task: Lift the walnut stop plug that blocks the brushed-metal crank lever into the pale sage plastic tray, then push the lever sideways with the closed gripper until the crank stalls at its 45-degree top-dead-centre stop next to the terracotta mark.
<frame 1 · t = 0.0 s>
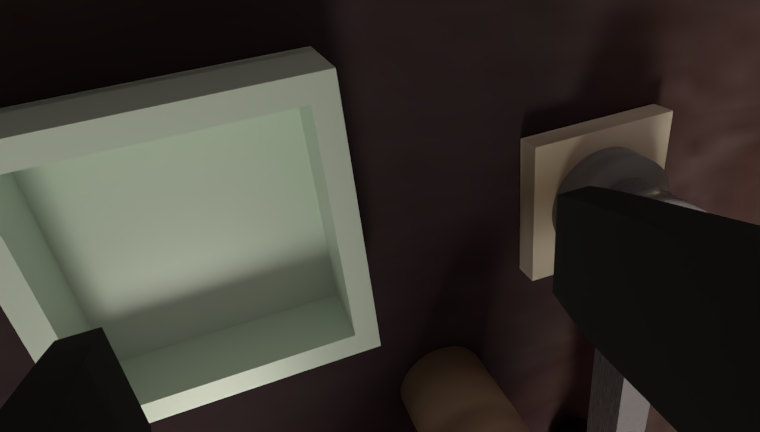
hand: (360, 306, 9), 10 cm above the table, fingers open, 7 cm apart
stop plug: (441, 381, 25), on the table
crank lever: (613, 367, 24), point 3 cm above the table, hinge at 0.0°
tray: (194, 223, 18), on the table
crank mount: (584, 189, 23), on the table
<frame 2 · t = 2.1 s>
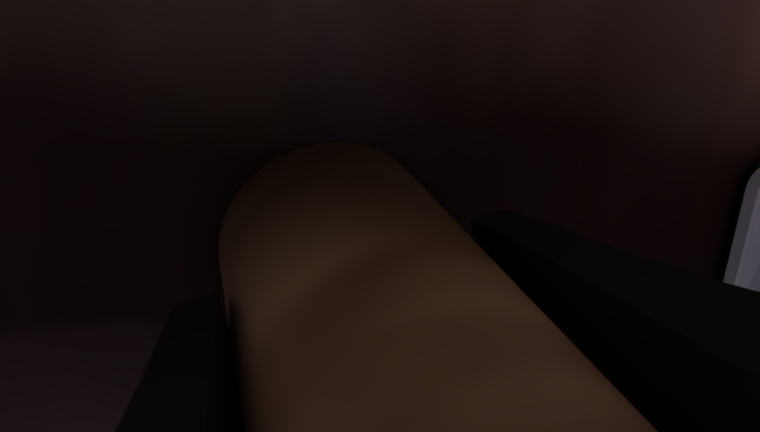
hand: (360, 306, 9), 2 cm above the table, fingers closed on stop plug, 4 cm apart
stop plug: (328, 243, 10), on the table, touching gripper
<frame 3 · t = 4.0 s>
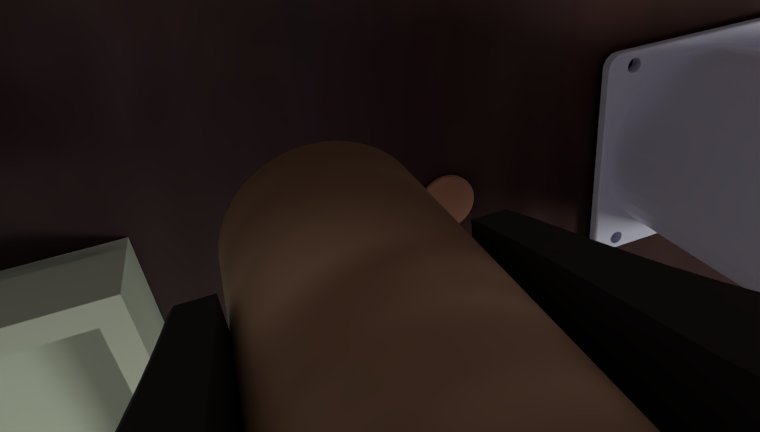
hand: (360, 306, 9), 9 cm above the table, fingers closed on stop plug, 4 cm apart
stop plug: (328, 242, 10), point 7 cm above the table, touching gripper
tray: (26, 402, 18), on the table
when the fingers open (4 cm above the table, at t = 6.3 s): stop plug drops 2 cm, resting on tray.
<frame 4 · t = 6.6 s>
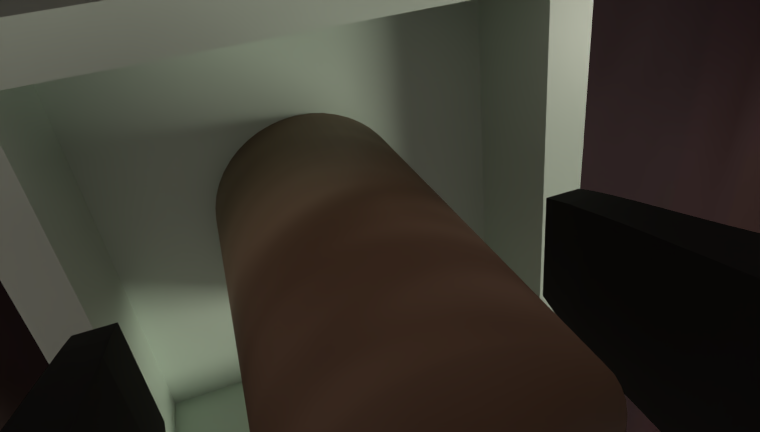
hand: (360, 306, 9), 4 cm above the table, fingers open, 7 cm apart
stop plug: (314, 205, 12), point 1 cm above the table, touching tray
tray: (305, 197, 12), on the table
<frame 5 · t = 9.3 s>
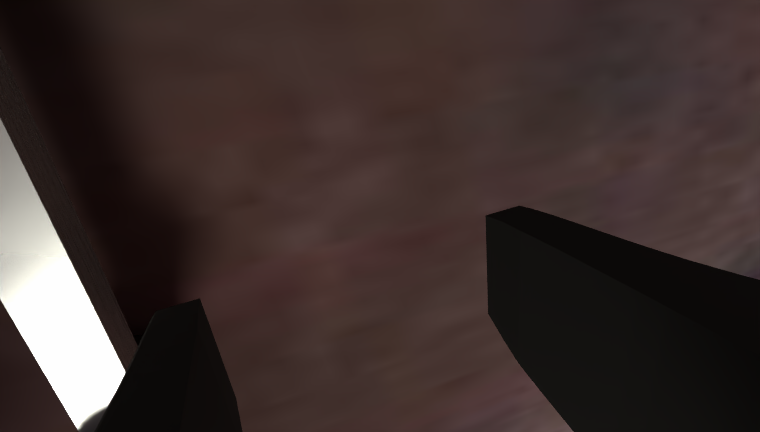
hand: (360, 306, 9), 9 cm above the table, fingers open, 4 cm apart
crank lever: (24, 201, 13), point 3 cm above the table, hinge at 0.0°
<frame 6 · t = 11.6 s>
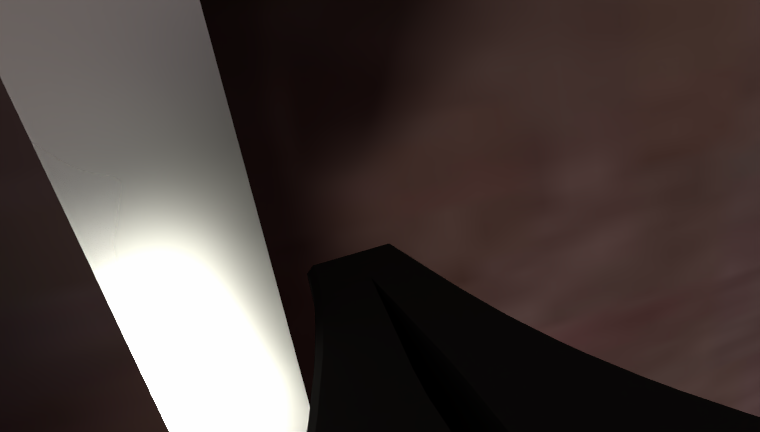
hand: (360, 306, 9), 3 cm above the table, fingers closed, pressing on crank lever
crank lever: (228, 332, 8), point 3 cm above the table, hinge at 0.0°, touching gripper
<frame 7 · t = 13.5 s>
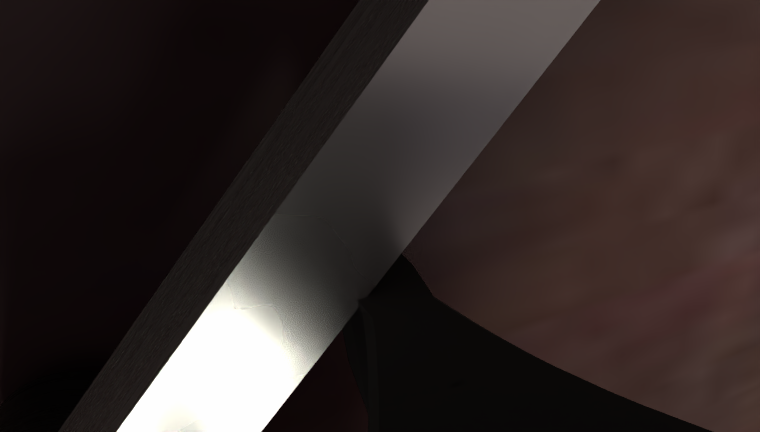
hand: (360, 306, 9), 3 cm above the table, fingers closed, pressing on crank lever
crank lever: (334, 154, 7), point 3 cm above the table, hinge at 47.1°, touching gripper
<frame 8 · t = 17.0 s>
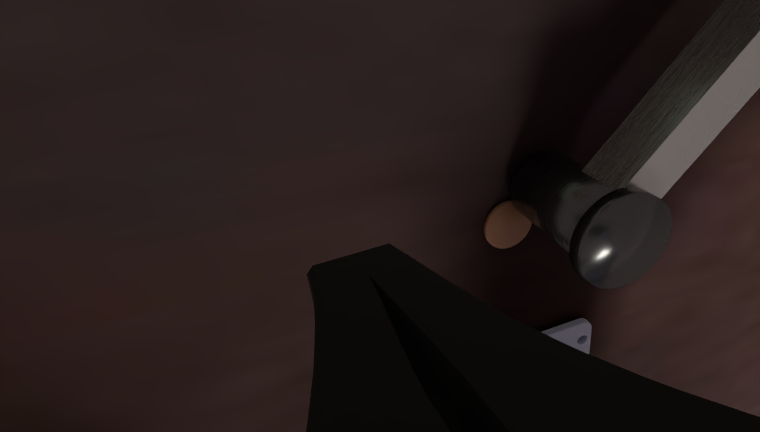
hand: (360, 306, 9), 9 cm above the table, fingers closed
crank lever: (741, 22, 17), point 3 cm above the table, hinge at 46.5°
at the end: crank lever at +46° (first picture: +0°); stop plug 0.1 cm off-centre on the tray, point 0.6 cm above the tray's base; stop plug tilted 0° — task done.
